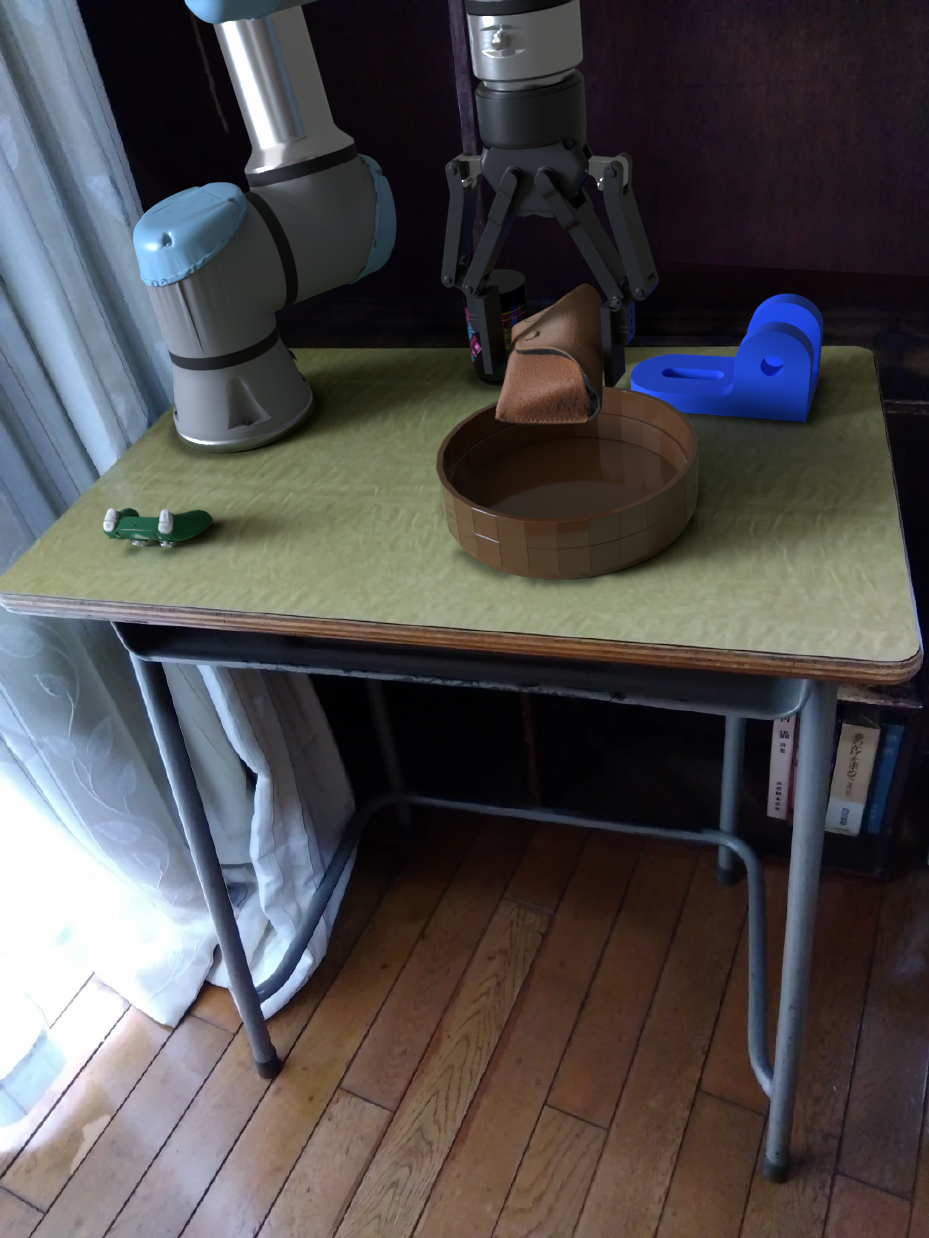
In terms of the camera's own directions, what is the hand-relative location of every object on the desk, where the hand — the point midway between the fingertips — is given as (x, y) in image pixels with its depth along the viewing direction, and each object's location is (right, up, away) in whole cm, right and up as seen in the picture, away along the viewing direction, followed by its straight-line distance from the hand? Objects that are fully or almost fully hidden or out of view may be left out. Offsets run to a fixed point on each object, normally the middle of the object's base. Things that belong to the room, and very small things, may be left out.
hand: (554, 372), depth 85 cm
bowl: (+2, -10, +8) cm, 13 cm away
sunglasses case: (0, 0, +1) cm, 1 cm away
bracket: (+19, +2, +20) cm, 27 cm away
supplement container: (-3, +7, +30) cm, 31 cm away
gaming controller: (-36, -13, +13) cm, 40 cm away
